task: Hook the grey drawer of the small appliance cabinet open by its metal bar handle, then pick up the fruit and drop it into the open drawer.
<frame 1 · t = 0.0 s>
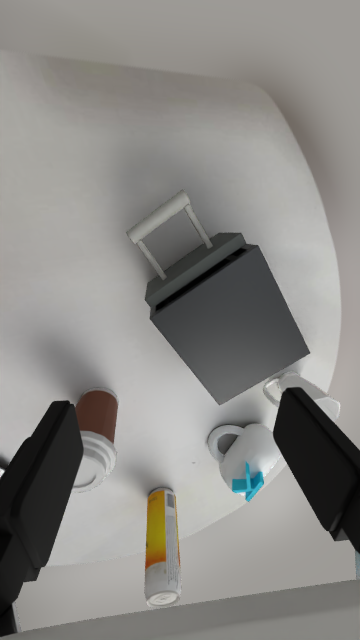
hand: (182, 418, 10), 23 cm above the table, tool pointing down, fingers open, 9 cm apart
cup: (280, 379, 39), on the table
grey drawer: (202, 287, 26), point 5 cm above the table, slide at 0.5 cm
beer can: (161, 493, 48), on the table
coffee cup: (99, 401, 37), on the table
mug: (236, 434, 43), on the table
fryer: (214, 308, 33), on the table
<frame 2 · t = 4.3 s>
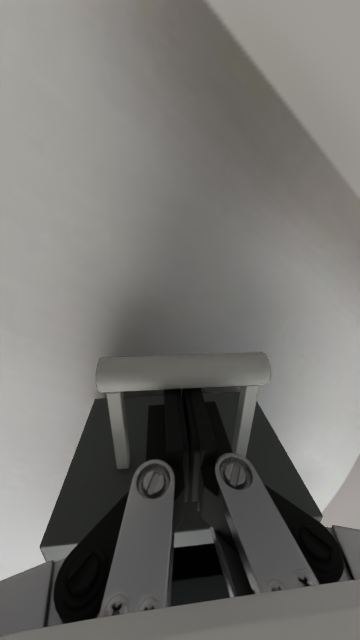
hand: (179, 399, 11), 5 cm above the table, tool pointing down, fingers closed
grey drawer: (179, 483, 14), point 5 cm above the table, slide at 2.4 cm, touching gripper
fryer: (173, 478, 21), on the table
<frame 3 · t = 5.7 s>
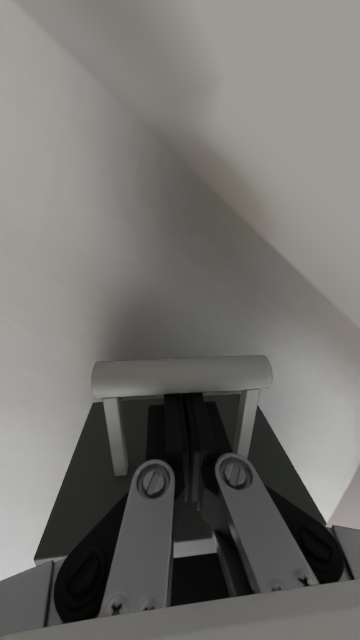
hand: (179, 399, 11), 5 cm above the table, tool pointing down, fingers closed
grey drawer: (179, 489, 13), point 5 cm above the table, slide at 8.7 cm, touching gripper
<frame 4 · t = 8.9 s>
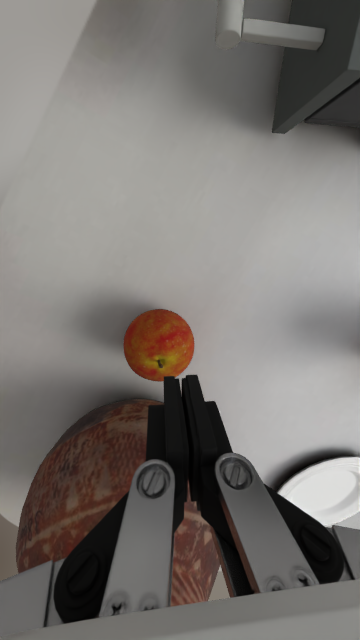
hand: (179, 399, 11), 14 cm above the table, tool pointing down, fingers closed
fruit: (159, 328, 25), on the table
plate: (320, 484, 41), on the table
jug: (139, 435, 31), on the table
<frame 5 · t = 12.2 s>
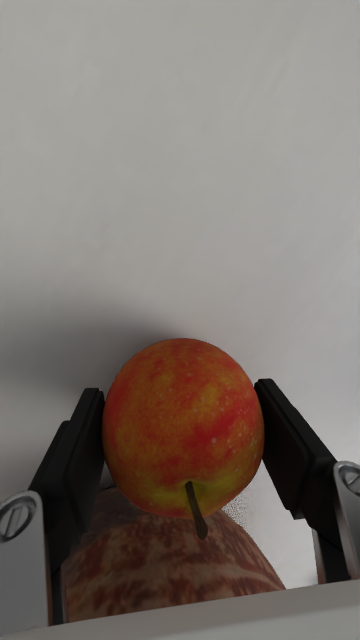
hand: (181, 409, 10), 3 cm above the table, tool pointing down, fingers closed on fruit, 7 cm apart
fruit: (175, 367, 13), on the table, touching gripper
jug: (141, 528, 19), on the table
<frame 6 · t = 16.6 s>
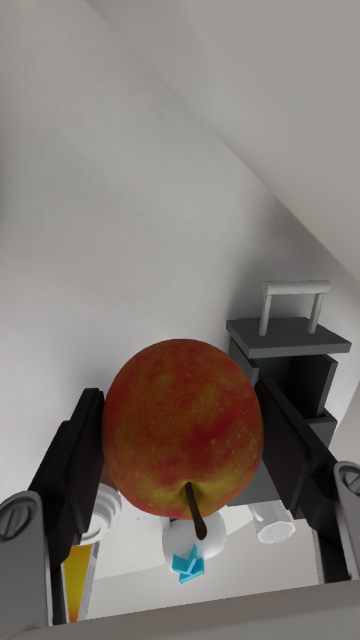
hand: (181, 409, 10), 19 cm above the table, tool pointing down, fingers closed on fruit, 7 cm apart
cup: (252, 480, 45), on the table
grey drawer: (277, 356, 28), point 5 cm above the table, slide at 9.0 cm
fruit: (175, 368, 13), point 16 cm above the table, touching gripper
beer can: (86, 535, 46), on the table
coffee cup: (102, 436, 36), on the table
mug: (189, 508, 46), on the table
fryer: (249, 411, 37), on the table
when the fingers open (10 cm above the table, at t = 21.2 s): fruit drops 4 cm, resting on grey drawer.
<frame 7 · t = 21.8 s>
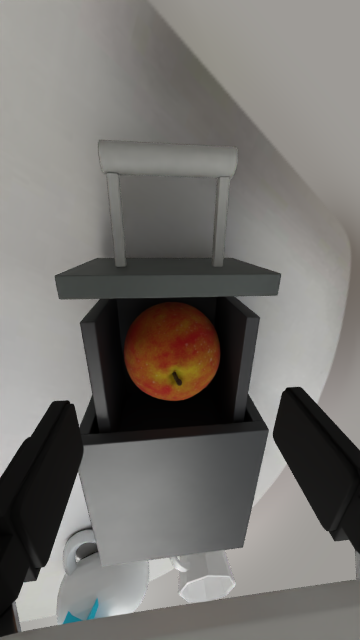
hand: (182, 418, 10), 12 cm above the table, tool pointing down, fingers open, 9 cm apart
cup: (189, 505, 33), on the table
grey drawer: (169, 315, 16), point 5 cm above the table, slide at 9.0 cm, touching fruit
fruit: (169, 328, 19), point 2 cm above the table, touching grey drawer
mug: (106, 541, 34), on the table
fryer: (168, 411, 25), on the table
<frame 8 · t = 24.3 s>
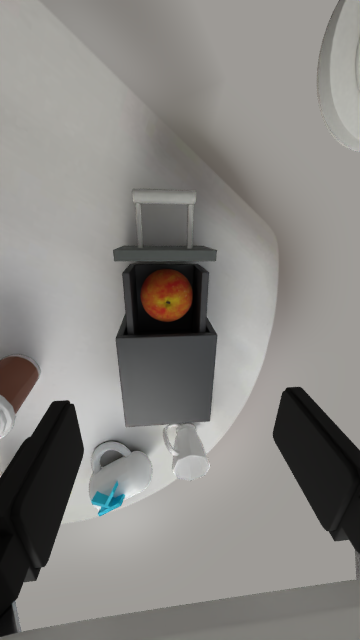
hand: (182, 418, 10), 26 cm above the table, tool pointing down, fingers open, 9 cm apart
cup: (181, 426, 46), on the table
grey drawer: (165, 276, 29), point 5 cm above the table, slide at 9.0 cm, touching fruit
fruit: (165, 288, 32), point 2 cm above the table, touching grey drawer
coffee cup: (20, 369, 37), on the table
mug: (121, 454, 47), on the table
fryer: (165, 349, 38), on the table
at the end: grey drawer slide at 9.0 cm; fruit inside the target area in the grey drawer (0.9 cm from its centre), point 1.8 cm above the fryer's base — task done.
